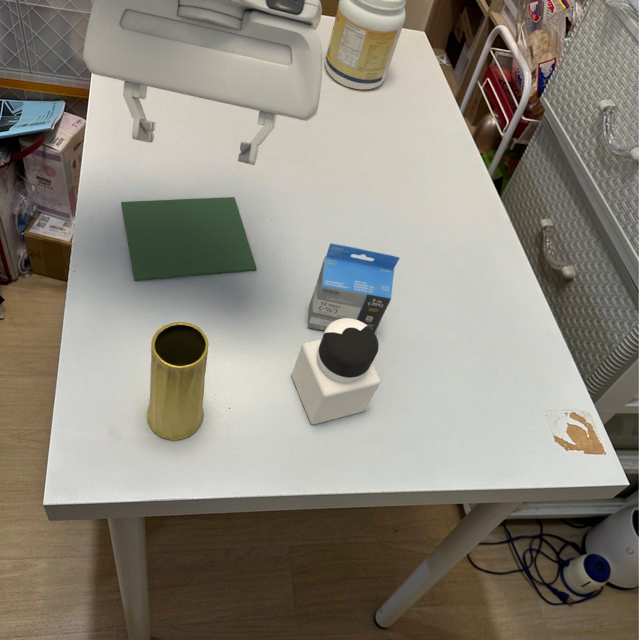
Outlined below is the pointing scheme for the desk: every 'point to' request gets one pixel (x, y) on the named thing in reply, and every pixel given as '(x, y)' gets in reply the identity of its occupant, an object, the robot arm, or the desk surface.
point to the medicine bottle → (337, 371)
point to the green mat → (186, 238)
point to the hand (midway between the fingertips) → (194, 152)
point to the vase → (177, 380)
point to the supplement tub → (364, 41)
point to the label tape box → (352, 287)
